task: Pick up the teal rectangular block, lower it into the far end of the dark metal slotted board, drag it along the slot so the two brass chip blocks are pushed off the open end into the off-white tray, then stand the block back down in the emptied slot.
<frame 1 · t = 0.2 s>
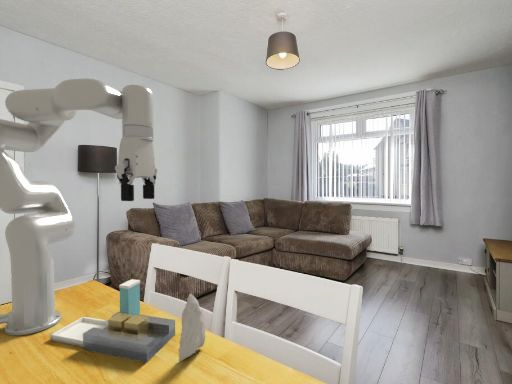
hand: (138, 199, 73), 36 cm above the table, tool pointing down, fingers open, 9 cm apart
slot board: (131, 341, 71), on the table
tray: (84, 333, 75), on the table
stone tool: (192, 356, 66), on the table
teal rectangular block: (130, 317, 83), on the table
chip a: (136, 334, 70), point 2 cm above the table, touching slot board
chip b: (120, 332, 72), point 2 cm above the table, touching slot board
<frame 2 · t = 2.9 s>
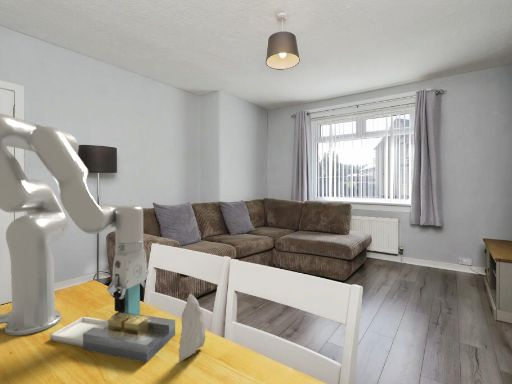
hand: (129, 304, 83), 4 cm above the table, tool pointing down, fingers open, 7 cm apart
nothing on the table moved.
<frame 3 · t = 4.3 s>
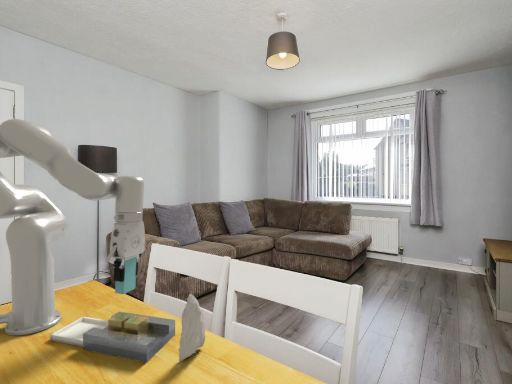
hand: (126, 277, 83), 12 cm above the table, tool pointing down, fingers closed on teal rectangular block, 5 cm apart
teal rectangular block: (125, 290, 83), point 8 cm above the table, touching gripper
everything else where it was.
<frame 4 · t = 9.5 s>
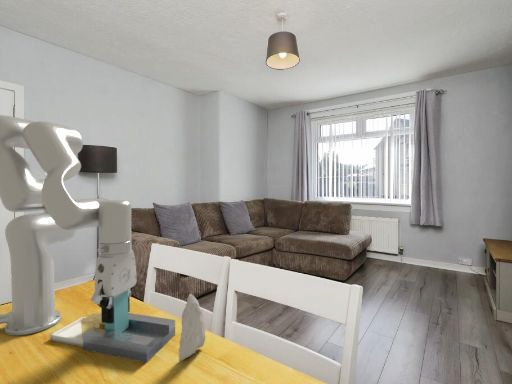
hand: (116, 316, 72), 6 cm above the table, tool pointing down, fingers closed on teal rectangular block, 4 cm apart
teal rectangular block: (117, 331, 72), point 2 cm above the table, touching gripper
chip a: (106, 329, 73), point 2 cm above the table
chip b: (94, 332, 74), point 1 cm above the table, touching tray
everything else where it was.
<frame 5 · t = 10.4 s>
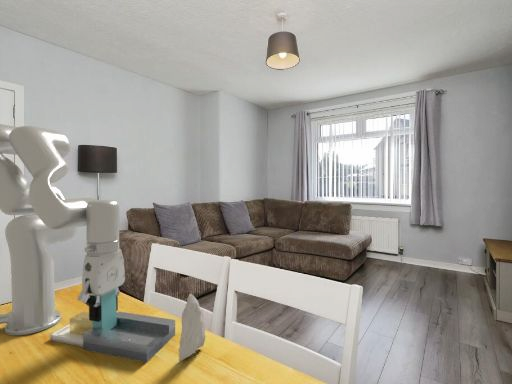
hand: (103, 314, 73), 6 cm above the table, tool pointing down, fingers closed on teal rectangular block, 4 cm apart
teal rectangular block: (105, 329, 73), point 2 cm above the table, touching chip a, gripper
chip a: (94, 330, 74), point 1 cm above the table, touching chip b, teal rectangular block
chip b: (82, 330, 75), point 1 cm above the table, touching chip a, tray
everything else where it was.
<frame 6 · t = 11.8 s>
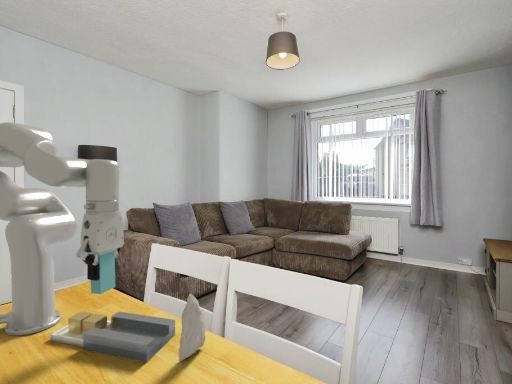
hand: (102, 275, 73), 16 cm above the table, tool pointing down, fingers closed on teal rectangular block, 4 cm apart
teal rectangular block: (103, 289, 73), point 13 cm above the table, touching gripper
chip a: (95, 332, 74), point 1 cm above the table, touching tray
chip b: (81, 330, 75), point 1 cm above the table, touching tray
everything else where it was.
when the fingers open (6 cm above the table, at t = 14.8 s): teal rectangular block stays where it is, resting on slot board.
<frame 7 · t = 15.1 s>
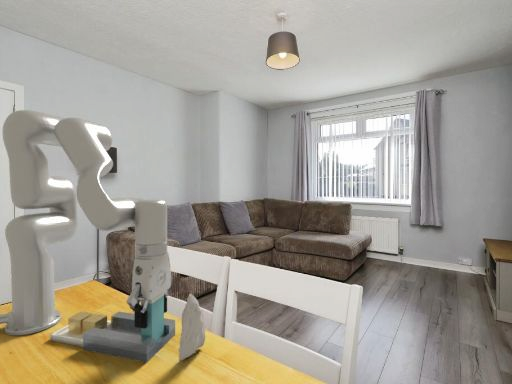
hand: (151, 318, 69), 7 cm above the table, tool pointing down, fingers open, 7 cm apart
teal rectangular block: (152, 337, 69), point 2 cm above the table, touching slot board
everything else where it was.
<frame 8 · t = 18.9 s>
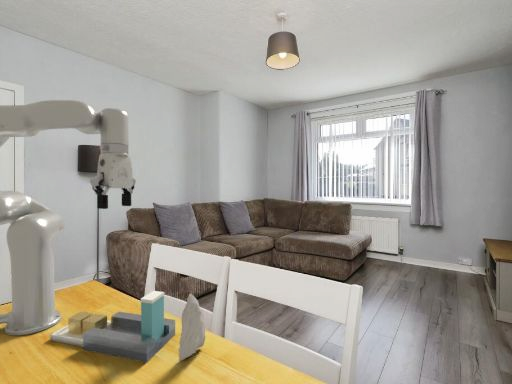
hand: (115, 207, 84), 33 cm above the table, tool pointing down, fingers open, 9 cm apart
nothing on the table moved.
at the end: chip a 3.6 cm from the tray (horizontally); chip b 1.2 cm from the tray (horizontally); the gripper is holding nothing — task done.
